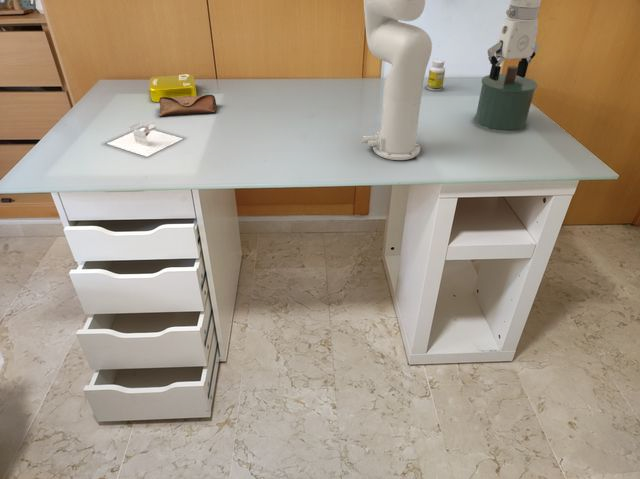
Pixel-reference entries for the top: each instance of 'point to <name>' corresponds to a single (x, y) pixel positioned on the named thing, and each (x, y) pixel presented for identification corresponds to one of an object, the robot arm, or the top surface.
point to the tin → (503, 109)
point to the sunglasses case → (187, 105)
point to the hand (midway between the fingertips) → (506, 77)
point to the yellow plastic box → (172, 86)
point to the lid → (510, 82)
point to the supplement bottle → (436, 75)
